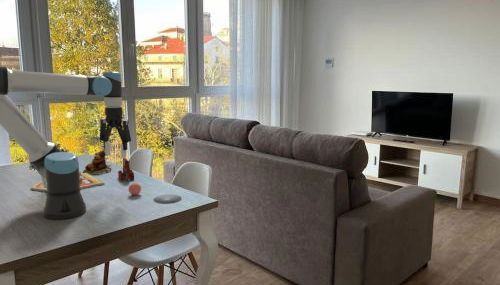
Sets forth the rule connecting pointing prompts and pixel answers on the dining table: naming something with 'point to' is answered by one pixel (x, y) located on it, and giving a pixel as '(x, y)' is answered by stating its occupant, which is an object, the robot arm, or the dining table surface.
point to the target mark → (167, 198)
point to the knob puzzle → (85, 182)
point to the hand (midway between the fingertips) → (115, 156)
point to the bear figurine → (98, 164)
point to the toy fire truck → (126, 171)
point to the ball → (134, 188)
